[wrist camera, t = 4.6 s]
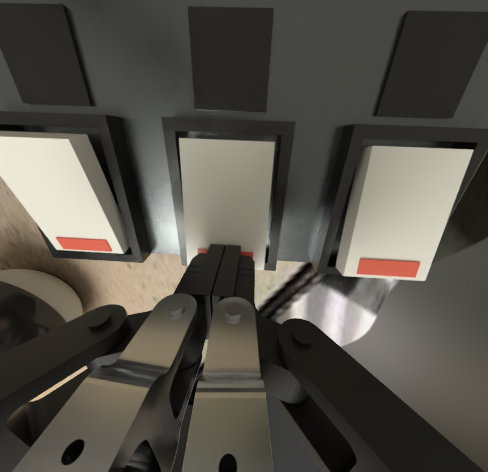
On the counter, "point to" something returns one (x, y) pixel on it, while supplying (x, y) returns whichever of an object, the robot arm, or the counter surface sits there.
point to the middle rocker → (226, 195)
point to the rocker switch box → (246, 98)
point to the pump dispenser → (33, 305)
